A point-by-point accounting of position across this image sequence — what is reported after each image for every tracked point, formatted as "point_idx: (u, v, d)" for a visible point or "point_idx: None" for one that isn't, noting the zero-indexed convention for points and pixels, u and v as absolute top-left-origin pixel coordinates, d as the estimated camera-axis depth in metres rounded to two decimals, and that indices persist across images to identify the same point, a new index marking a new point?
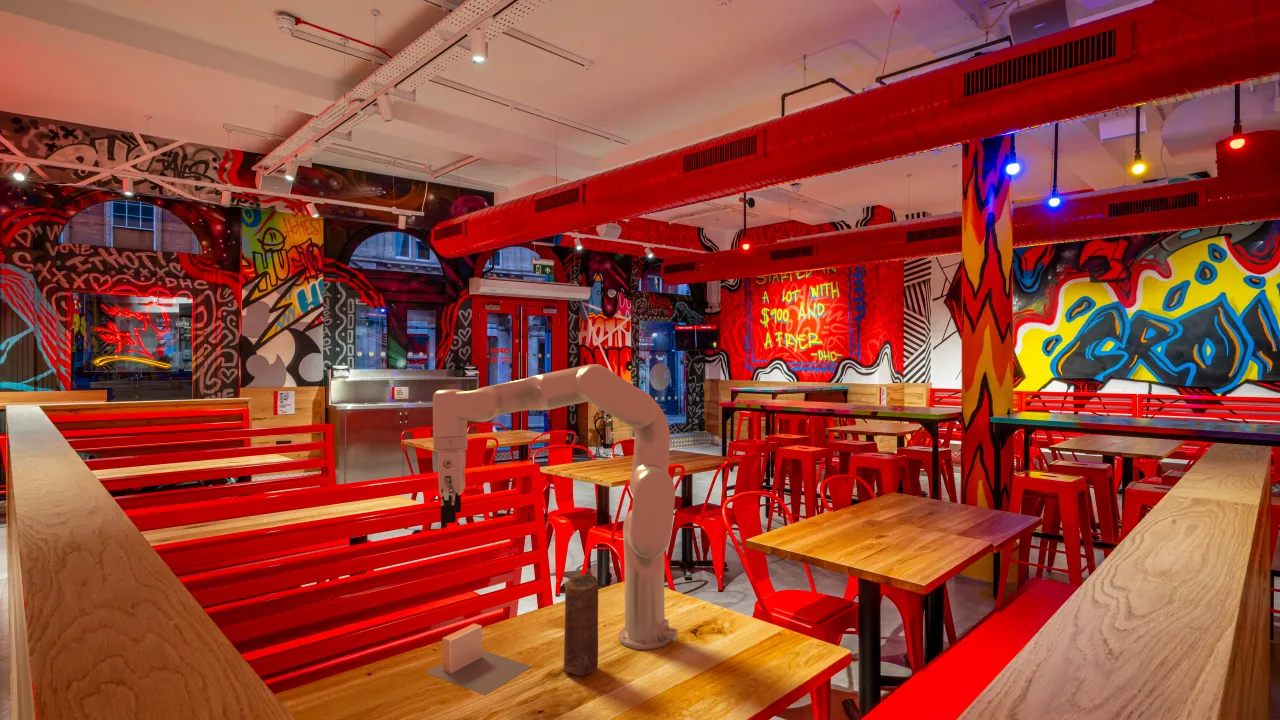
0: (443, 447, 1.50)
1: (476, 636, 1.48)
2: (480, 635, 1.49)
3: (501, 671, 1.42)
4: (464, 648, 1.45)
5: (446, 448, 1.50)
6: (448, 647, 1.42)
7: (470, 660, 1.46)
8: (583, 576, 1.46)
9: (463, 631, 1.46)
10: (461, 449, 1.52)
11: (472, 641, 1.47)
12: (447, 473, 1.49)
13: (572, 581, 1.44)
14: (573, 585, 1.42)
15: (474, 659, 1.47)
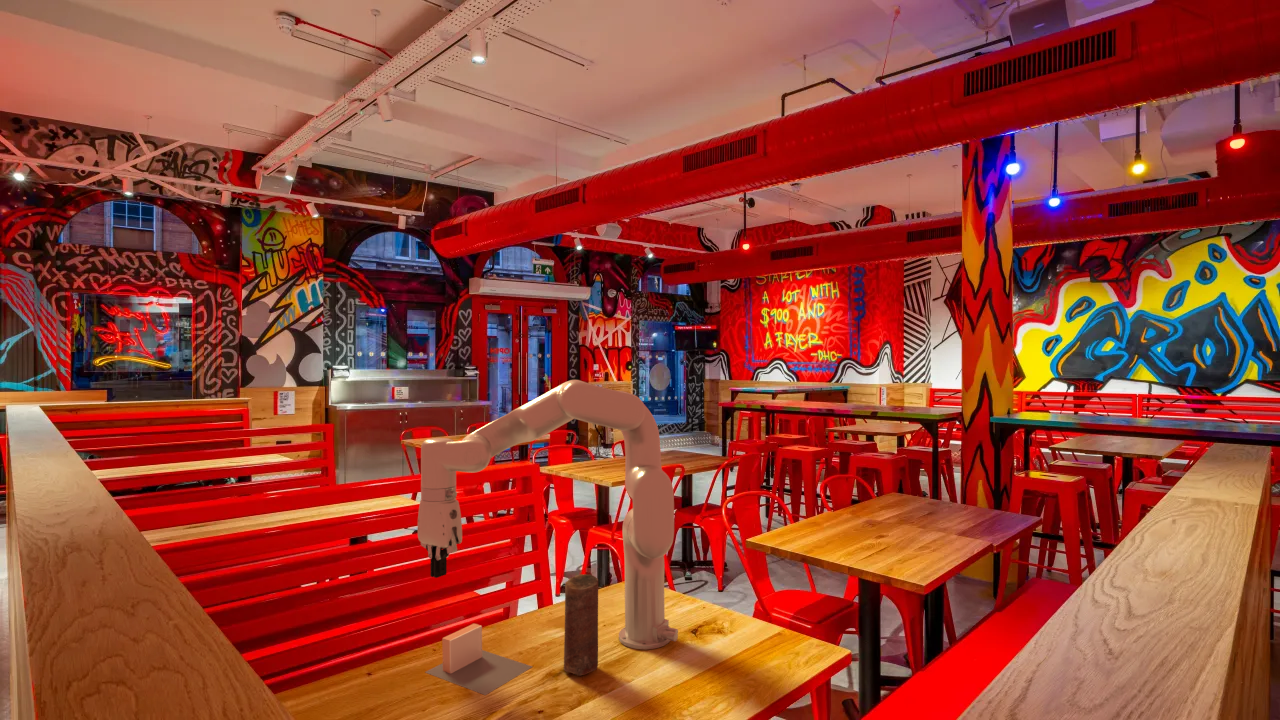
0: (446, 498, 1.46)
1: (476, 636, 1.48)
2: (480, 635, 1.49)
3: (501, 671, 1.42)
4: (464, 648, 1.45)
5: (448, 499, 1.47)
6: (448, 647, 1.42)
7: (470, 660, 1.46)
8: (583, 576, 1.46)
9: (463, 631, 1.46)
10: (455, 498, 1.50)
11: (472, 641, 1.47)
12: (453, 524, 1.47)
13: (572, 581, 1.44)
14: (573, 585, 1.42)
15: (474, 659, 1.47)
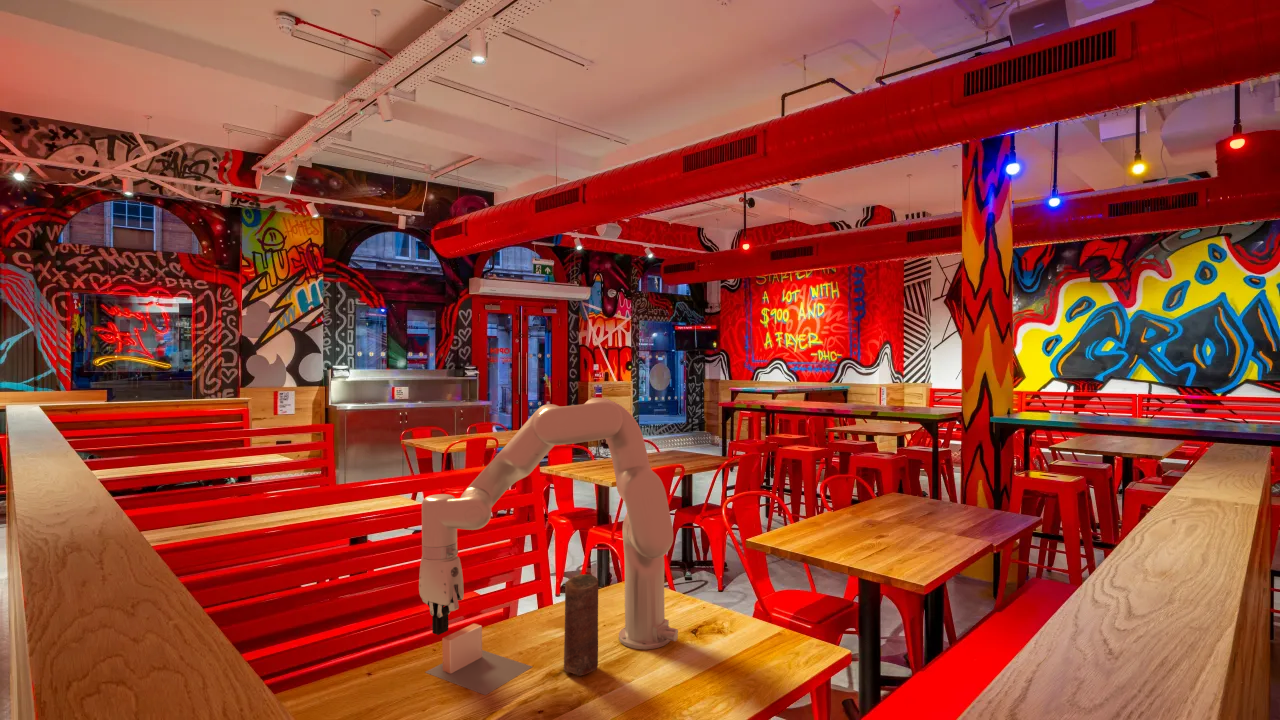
0: (447, 556, 1.47)
1: (476, 636, 1.48)
2: (480, 635, 1.49)
3: (501, 671, 1.42)
4: (464, 648, 1.45)
5: (449, 556, 1.47)
6: (448, 647, 1.42)
7: (470, 660, 1.46)
8: (583, 576, 1.46)
9: (463, 631, 1.46)
10: None
11: (472, 641, 1.47)
12: (455, 581, 1.47)
13: (572, 581, 1.44)
14: (573, 585, 1.42)
15: (474, 659, 1.47)
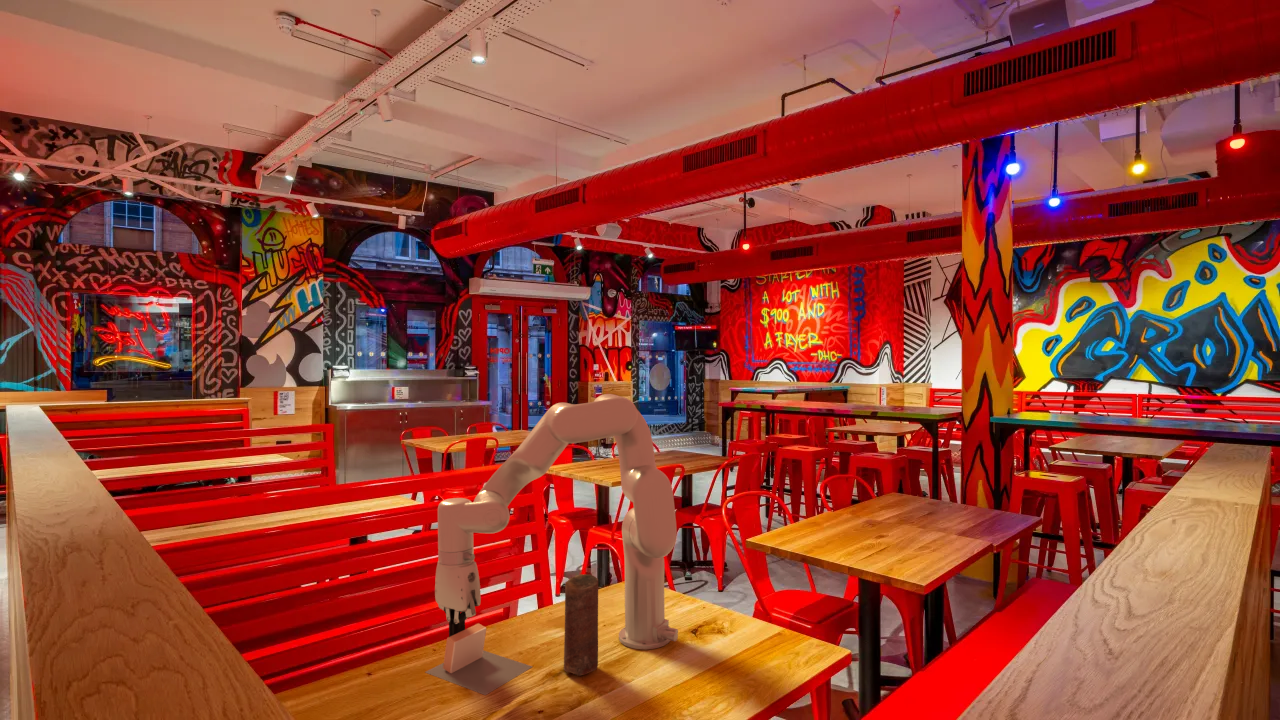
0: (464, 561, 1.44)
1: (479, 638, 1.47)
2: (483, 636, 1.48)
3: (501, 671, 1.42)
4: (467, 649, 1.44)
5: (466, 562, 1.44)
6: (451, 648, 1.41)
7: (470, 660, 1.46)
8: (583, 576, 1.46)
9: (467, 632, 1.46)
10: (473, 559, 1.48)
11: (475, 642, 1.46)
12: (472, 587, 1.44)
13: (572, 581, 1.44)
14: (573, 585, 1.42)
15: (474, 659, 1.47)
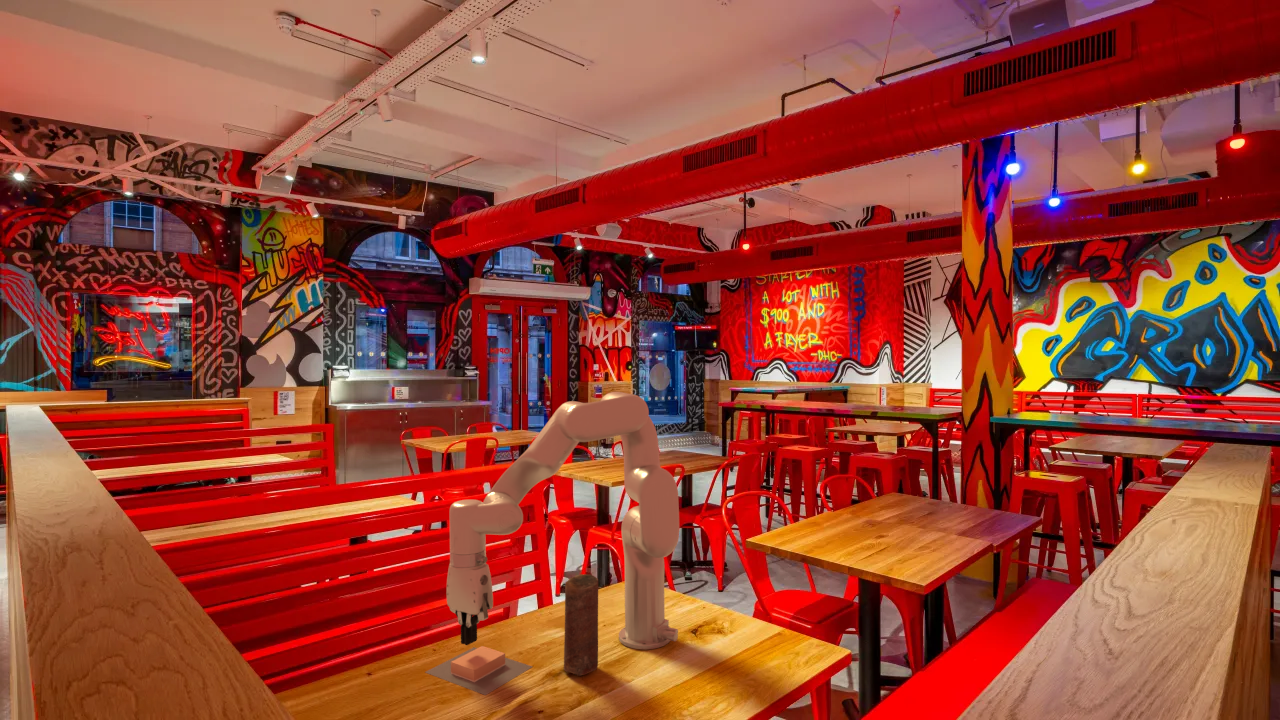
0: (476, 564, 1.42)
1: None
2: None
3: (501, 671, 1.42)
4: None
5: (478, 564, 1.42)
6: (468, 676, 1.39)
7: None
8: (583, 576, 1.46)
9: (491, 666, 1.42)
10: None
11: None
12: (484, 590, 1.42)
13: (572, 581, 1.44)
14: (573, 585, 1.42)
15: None
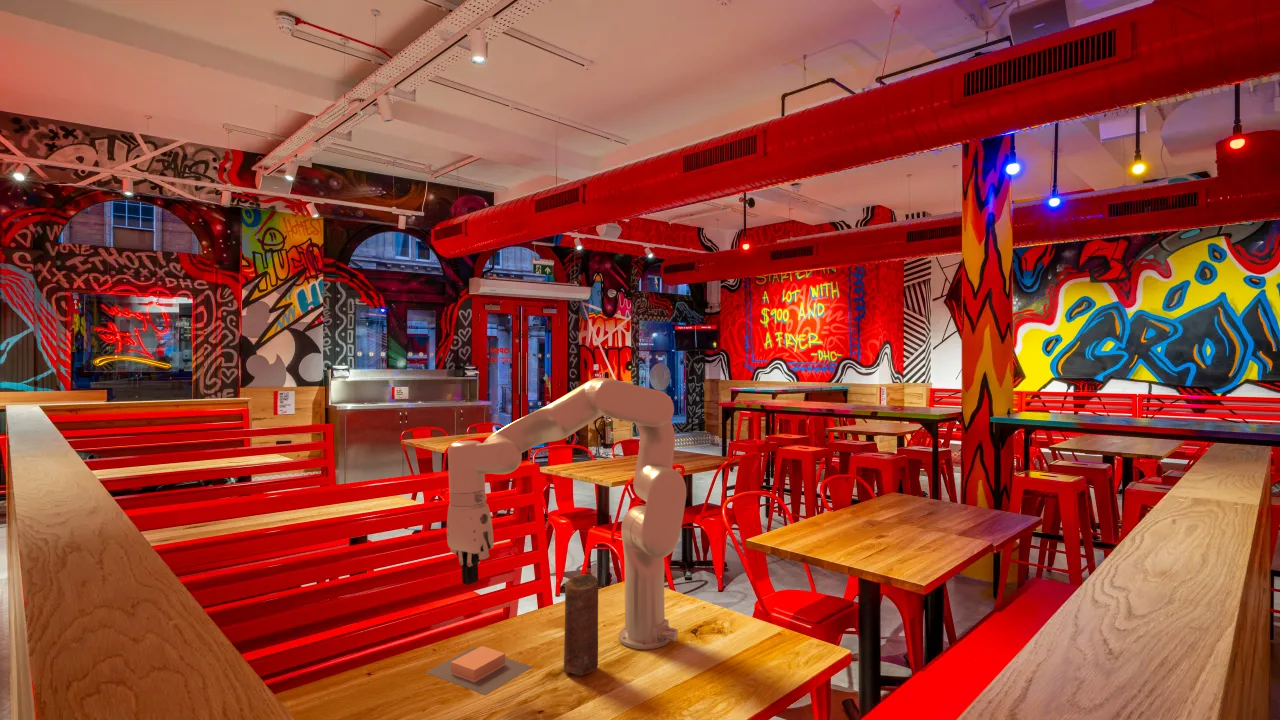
0: (476, 503, 1.42)
1: None
2: None
3: (501, 671, 1.42)
4: None
5: (478, 503, 1.42)
6: (468, 676, 1.39)
7: None
8: (583, 576, 1.46)
9: (491, 666, 1.42)
10: (485, 502, 1.46)
11: None
12: (484, 529, 1.42)
13: (572, 581, 1.44)
14: (573, 585, 1.42)
15: None
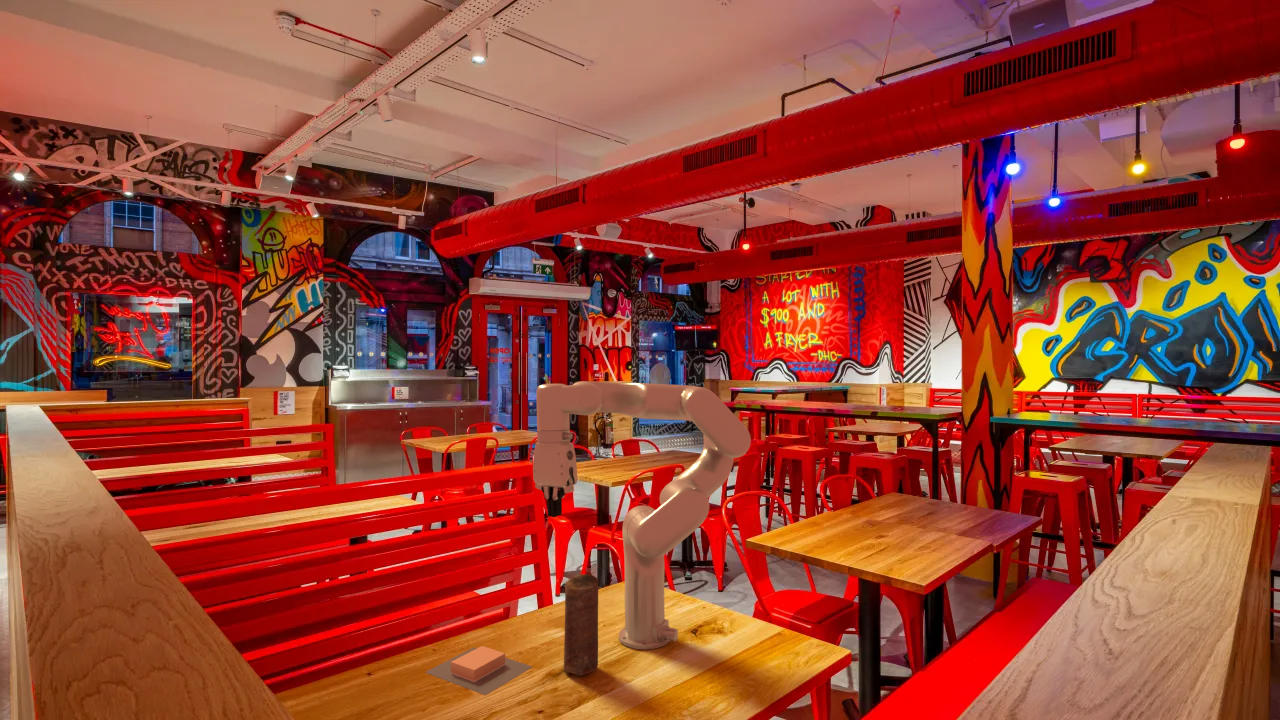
0: (563, 440, 1.52)
1: None
2: None
3: (501, 671, 1.42)
4: None
5: (565, 441, 1.53)
6: (468, 676, 1.39)
7: None
8: (583, 576, 1.46)
9: (491, 666, 1.42)
10: None
11: None
12: (570, 464, 1.52)
13: (572, 581, 1.44)
14: (573, 585, 1.42)
15: None
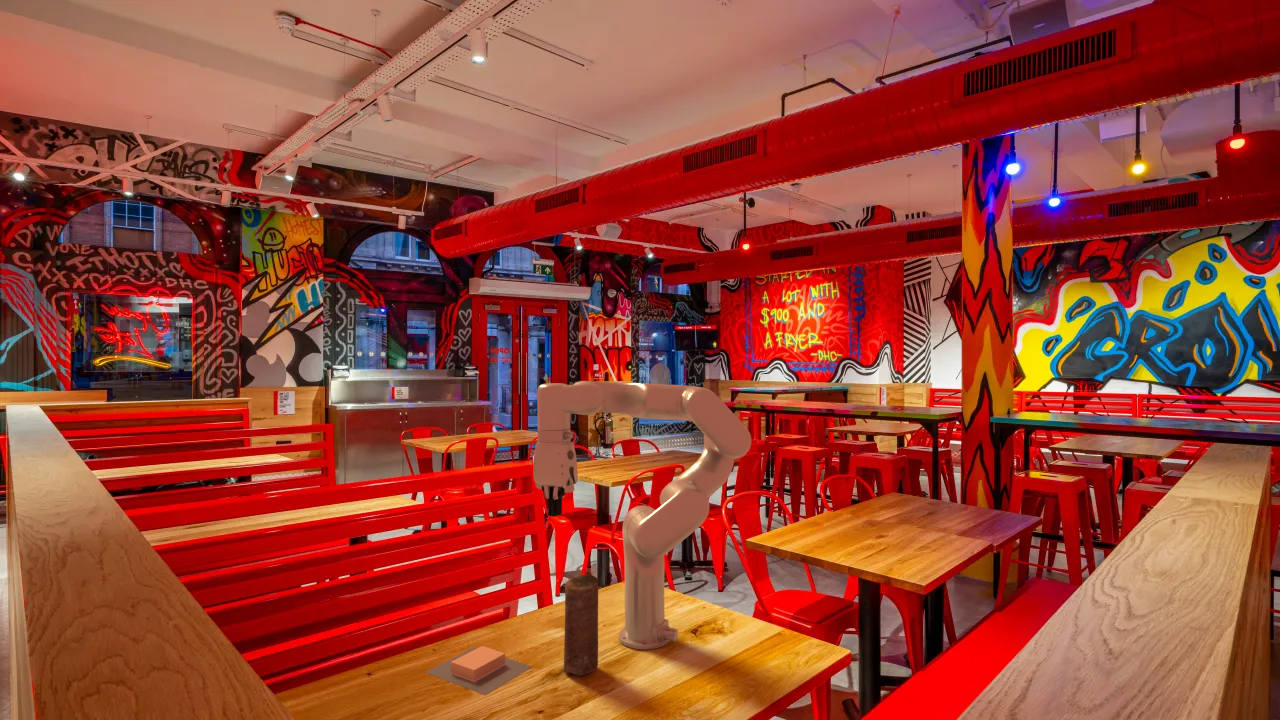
0: (563, 439, 1.52)
1: None
2: None
3: (501, 671, 1.42)
4: None
5: (565, 440, 1.53)
6: (468, 676, 1.39)
7: None
8: (583, 576, 1.46)
9: (491, 666, 1.42)
10: None
11: None
12: (571, 464, 1.52)
13: (572, 581, 1.44)
14: (573, 585, 1.42)
15: None
